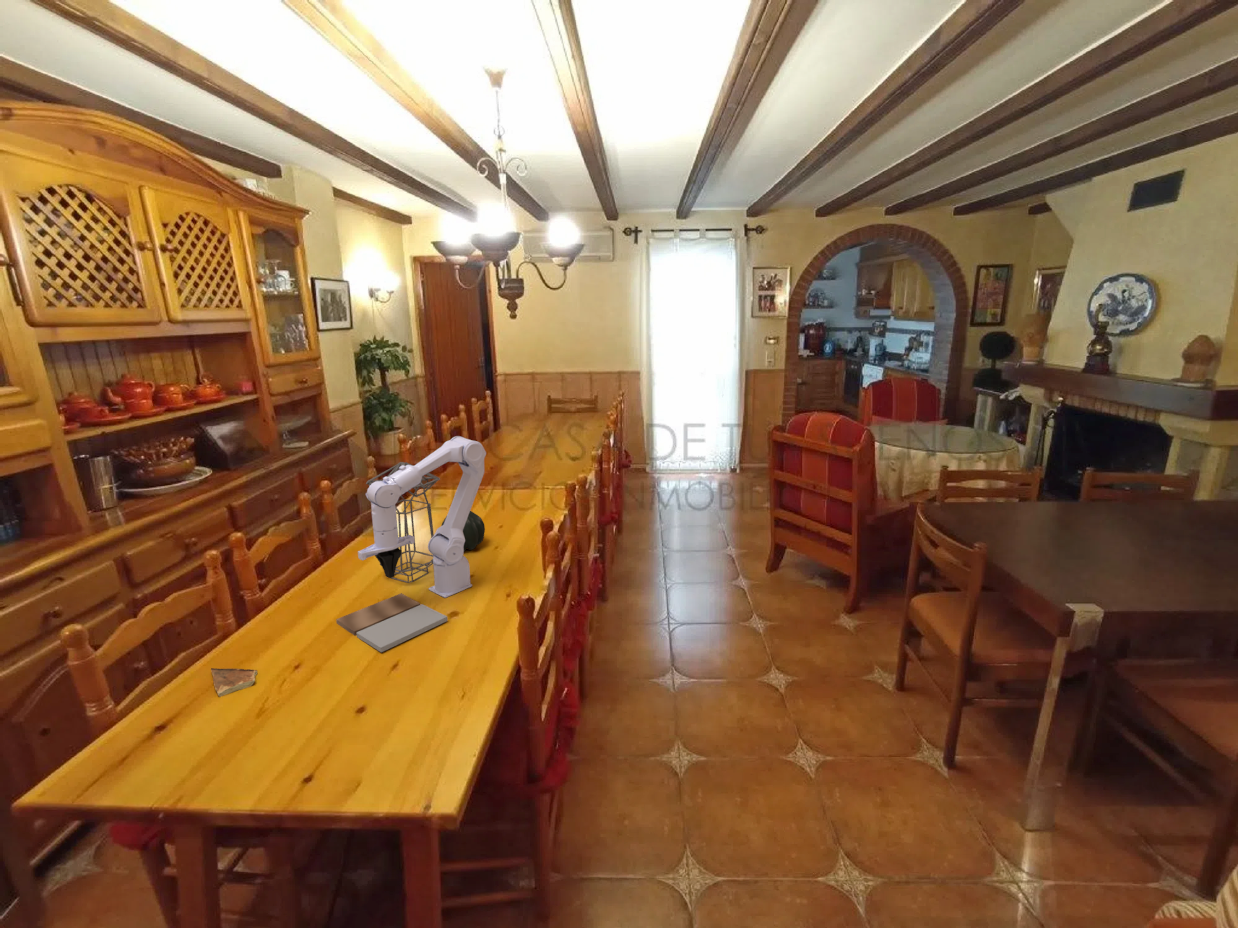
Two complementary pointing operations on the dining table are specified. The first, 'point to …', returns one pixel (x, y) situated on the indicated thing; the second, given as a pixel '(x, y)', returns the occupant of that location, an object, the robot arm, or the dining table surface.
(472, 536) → the squash
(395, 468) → the geometric lantern
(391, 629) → the grey plank
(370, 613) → the walnut board
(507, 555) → the dining table surface
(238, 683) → the shard
